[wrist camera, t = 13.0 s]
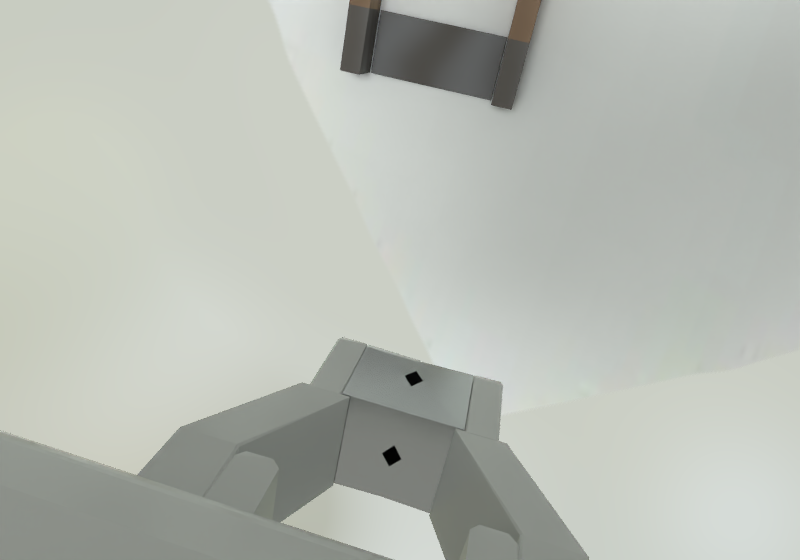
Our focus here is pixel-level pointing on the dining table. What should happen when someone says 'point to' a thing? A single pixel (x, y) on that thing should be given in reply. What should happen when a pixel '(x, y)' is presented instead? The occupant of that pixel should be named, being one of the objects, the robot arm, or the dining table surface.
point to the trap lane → (439, 51)
